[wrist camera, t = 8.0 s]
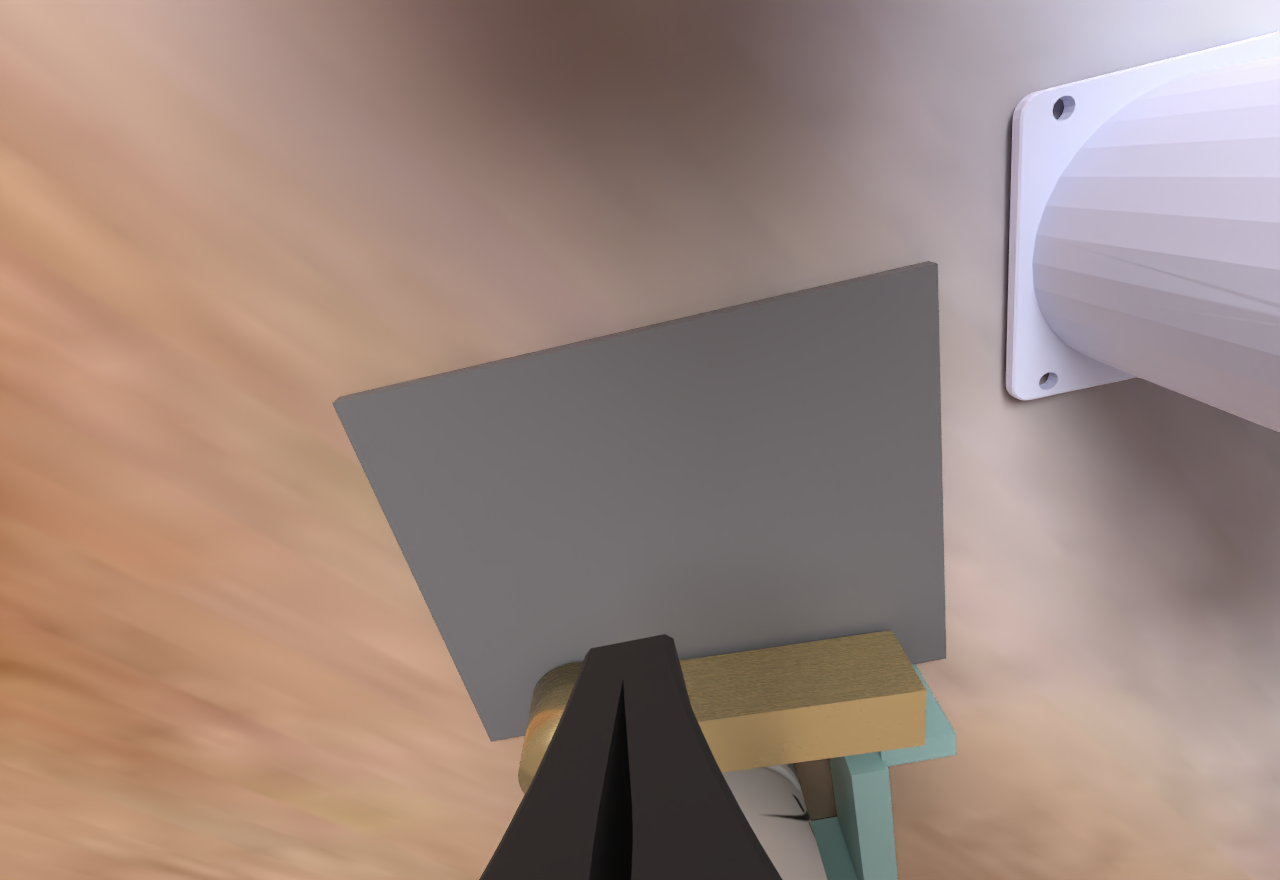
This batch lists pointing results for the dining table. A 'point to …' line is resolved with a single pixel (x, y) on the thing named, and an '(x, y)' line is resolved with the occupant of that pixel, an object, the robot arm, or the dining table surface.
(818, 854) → the travel mug
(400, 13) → the dining table surface
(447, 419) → the plate
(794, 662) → the swing latch
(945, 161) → the dining table surface
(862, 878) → the mug holder
